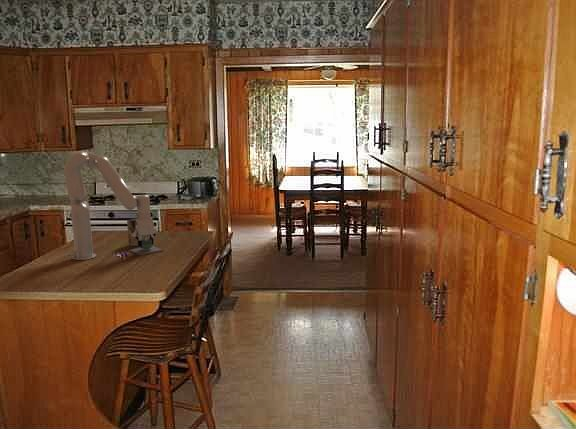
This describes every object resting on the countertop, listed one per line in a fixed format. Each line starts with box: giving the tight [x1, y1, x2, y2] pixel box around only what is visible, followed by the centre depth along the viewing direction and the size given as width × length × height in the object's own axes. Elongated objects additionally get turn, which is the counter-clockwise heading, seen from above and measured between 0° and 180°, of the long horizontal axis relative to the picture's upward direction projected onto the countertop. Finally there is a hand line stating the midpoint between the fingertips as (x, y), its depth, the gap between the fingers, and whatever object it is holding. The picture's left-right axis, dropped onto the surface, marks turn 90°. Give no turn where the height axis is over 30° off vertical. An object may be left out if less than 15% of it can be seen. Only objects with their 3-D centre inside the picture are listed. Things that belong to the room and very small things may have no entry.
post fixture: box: [129, 235, 164, 256], centre depth 292 cm, size 14×14×10 cm
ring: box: [139, 238, 153, 249], centre depth 292 cm, size 7×7×4 cm
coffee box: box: [126, 218, 143, 247], centre depth 309 cm, size 9×6×16 cm
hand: (145, 245), depth 292 cm, fingers closed on ring, 6 cm apart
